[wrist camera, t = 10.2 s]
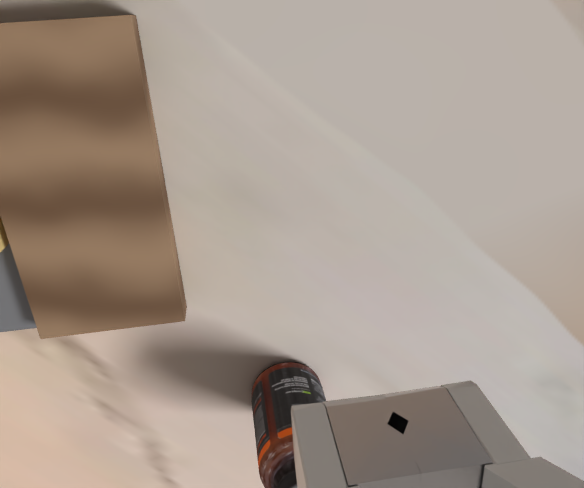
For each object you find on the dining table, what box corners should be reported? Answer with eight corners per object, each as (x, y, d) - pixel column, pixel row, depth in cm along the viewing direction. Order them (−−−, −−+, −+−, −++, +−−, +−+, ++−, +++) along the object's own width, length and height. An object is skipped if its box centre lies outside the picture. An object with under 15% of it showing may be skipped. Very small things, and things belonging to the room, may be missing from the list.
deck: (-43, 27, 28) (-62, 27, 26) (135, 15, 29) (130, 15, 27) (49, 323, 36) (40, 338, 34) (186, 306, 37) (184, 320, 35)
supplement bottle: (261, 422, 43) (273, 547, 32) (242, 370, 40) (250, 487, 30) (327, 404, 43) (360, 522, 33) (312, 350, 40) (344, 460, 30)
